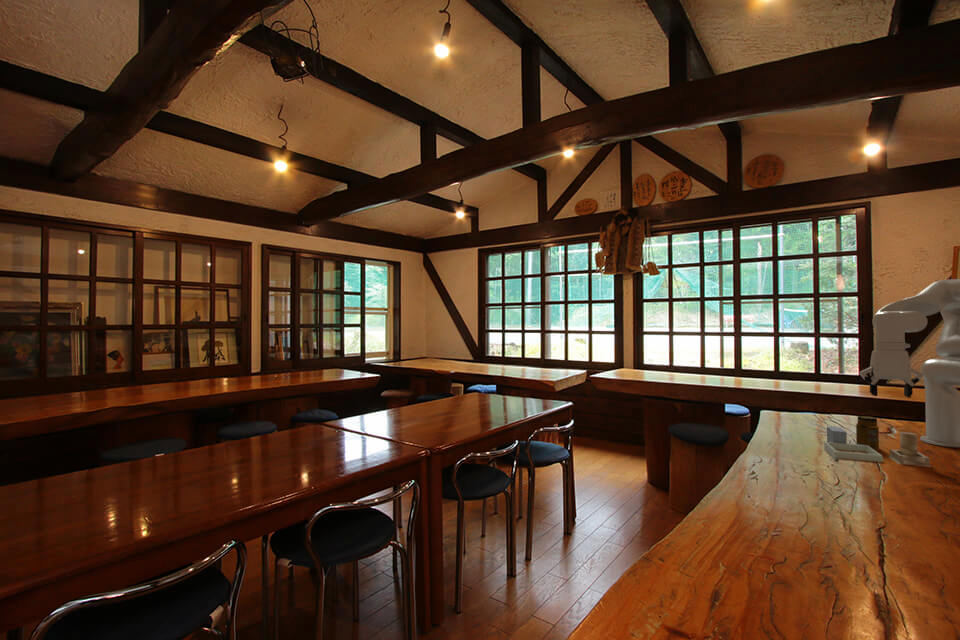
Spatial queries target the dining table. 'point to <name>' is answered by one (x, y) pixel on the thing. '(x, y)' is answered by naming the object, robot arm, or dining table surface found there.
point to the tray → (831, 447)
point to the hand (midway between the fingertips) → (890, 396)
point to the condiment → (867, 432)
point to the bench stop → (836, 435)
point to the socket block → (909, 459)
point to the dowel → (908, 444)
